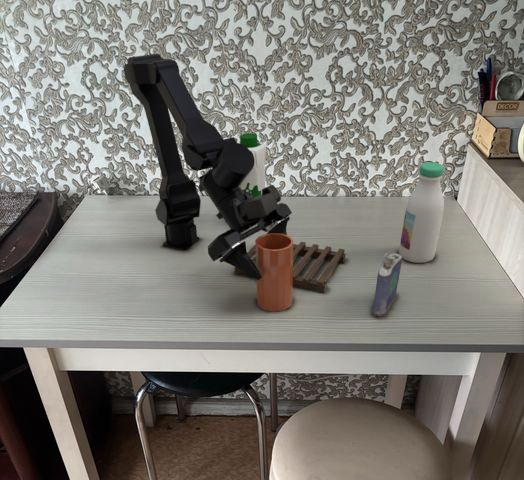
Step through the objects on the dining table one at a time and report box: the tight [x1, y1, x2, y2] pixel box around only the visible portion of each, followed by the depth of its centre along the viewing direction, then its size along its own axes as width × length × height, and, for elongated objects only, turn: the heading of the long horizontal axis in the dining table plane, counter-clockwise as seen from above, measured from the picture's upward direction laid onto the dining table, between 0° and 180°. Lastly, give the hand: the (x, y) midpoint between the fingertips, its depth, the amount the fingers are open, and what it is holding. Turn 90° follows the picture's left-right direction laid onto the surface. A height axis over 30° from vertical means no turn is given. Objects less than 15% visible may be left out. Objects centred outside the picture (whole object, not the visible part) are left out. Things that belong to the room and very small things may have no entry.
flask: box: [372, 252, 403, 318], centre depth 100 cm, size 9×3×11 cm, turn 151°
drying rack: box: [234, 241, 347, 294], centre depth 115 cm, size 20×15×2 cm
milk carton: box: [236, 132, 267, 197], centre depth 129 cm, size 9×9×20 cm
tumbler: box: [254, 233, 294, 312], centre depth 101 cm, size 7×7×13 cm
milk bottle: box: [398, 161, 445, 264], centre depth 112 cm, size 8×8×20 cm
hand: (275, 269), depth 100 cm, fingers open, 9 cm apart
